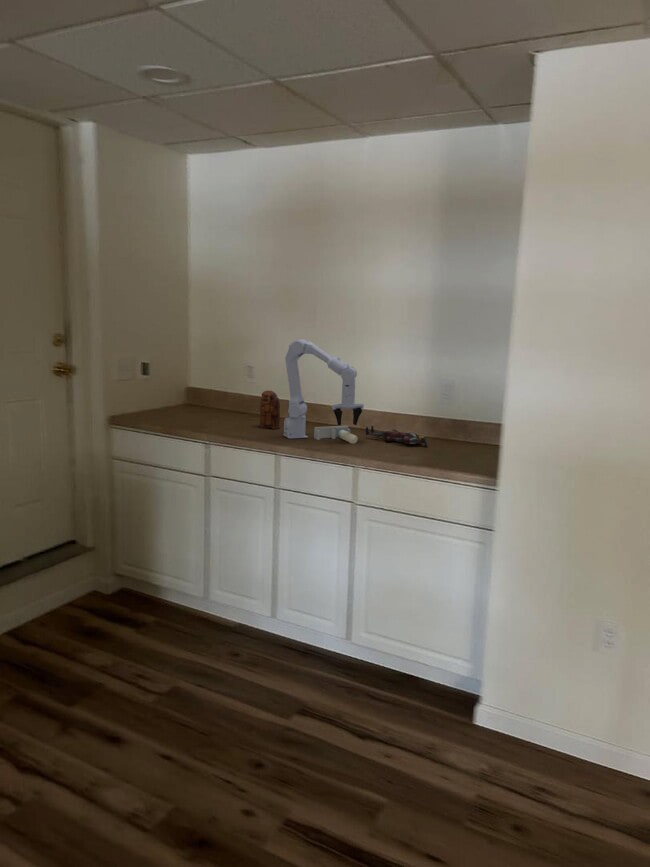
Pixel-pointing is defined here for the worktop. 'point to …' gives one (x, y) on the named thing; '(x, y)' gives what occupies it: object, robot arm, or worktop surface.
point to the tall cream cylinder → (348, 436)
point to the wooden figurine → (269, 410)
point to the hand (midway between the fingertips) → (347, 425)
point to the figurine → (398, 436)
